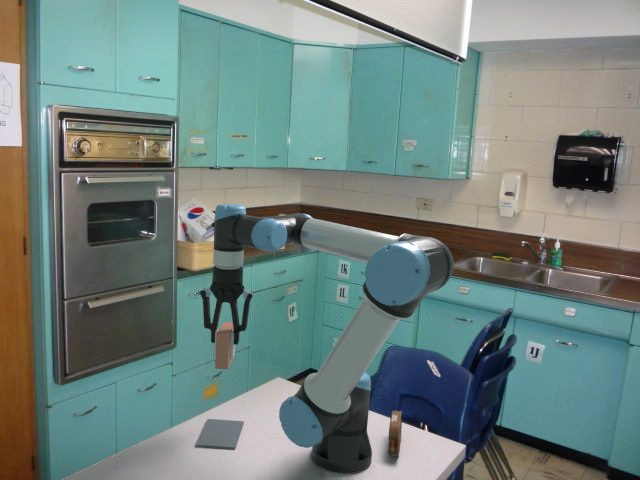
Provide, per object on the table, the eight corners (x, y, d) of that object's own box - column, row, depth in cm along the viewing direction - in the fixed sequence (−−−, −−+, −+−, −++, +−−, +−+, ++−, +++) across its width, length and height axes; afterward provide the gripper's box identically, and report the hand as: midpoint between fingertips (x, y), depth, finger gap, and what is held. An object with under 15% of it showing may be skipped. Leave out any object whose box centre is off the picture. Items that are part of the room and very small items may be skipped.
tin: (397, 463, 144) (400, 432, 142) (385, 461, 144) (388, 430, 143) (401, 434, 158) (404, 406, 157) (390, 432, 159) (392, 404, 157)
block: (235, 322, 152) (229, 335, 142) (234, 355, 153) (227, 369, 143) (223, 321, 152) (216, 334, 142) (222, 354, 153) (215, 368, 143)
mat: (243, 423, 159) (243, 421, 159) (235, 449, 145) (235, 447, 145) (207, 420, 159) (207, 418, 159) (195, 446, 145) (195, 444, 145)
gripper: (262, 265, 147) (258, 352, 150) (199, 260, 147) (196, 348, 151) (258, 271, 139) (254, 363, 143) (192, 266, 139) (189, 358, 143)
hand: (224, 355), depth 147 cm, fingers closed on block, 3 cm apart
